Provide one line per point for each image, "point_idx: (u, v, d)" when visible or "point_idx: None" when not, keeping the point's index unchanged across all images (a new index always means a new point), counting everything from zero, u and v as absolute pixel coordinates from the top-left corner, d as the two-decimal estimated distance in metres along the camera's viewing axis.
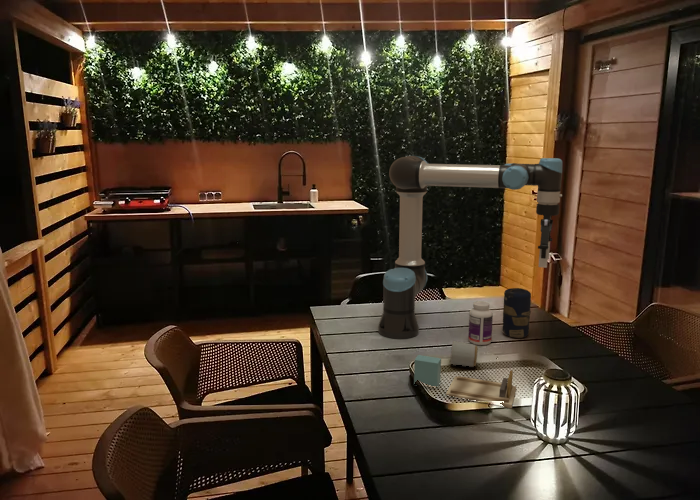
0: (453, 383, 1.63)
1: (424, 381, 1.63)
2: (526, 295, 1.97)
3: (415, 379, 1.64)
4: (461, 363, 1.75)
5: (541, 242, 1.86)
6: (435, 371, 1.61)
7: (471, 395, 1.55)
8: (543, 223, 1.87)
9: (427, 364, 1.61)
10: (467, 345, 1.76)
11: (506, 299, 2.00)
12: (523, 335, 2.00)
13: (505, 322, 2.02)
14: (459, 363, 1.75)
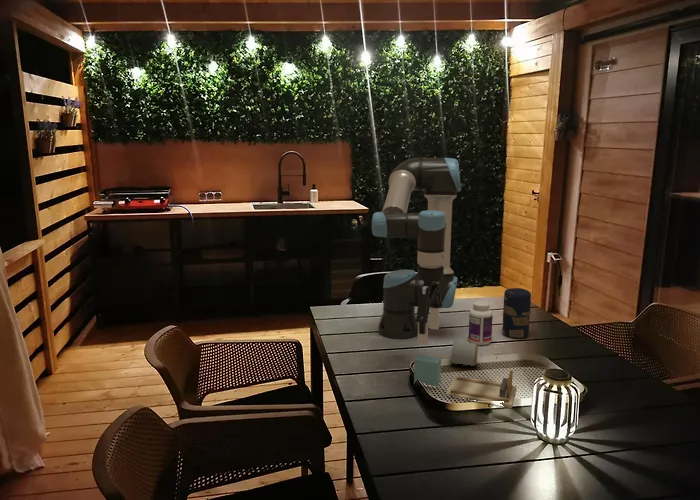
0: (453, 383, 1.63)
1: (424, 381, 1.63)
2: (526, 295, 1.97)
3: (415, 379, 1.64)
4: (461, 362, 1.76)
5: (417, 315, 1.51)
6: (435, 371, 1.61)
7: (471, 395, 1.55)
8: (421, 291, 1.53)
9: (427, 364, 1.61)
10: (467, 344, 1.77)
11: (506, 299, 2.00)
12: (523, 335, 2.00)
13: (505, 322, 2.02)
14: (459, 362, 1.76)
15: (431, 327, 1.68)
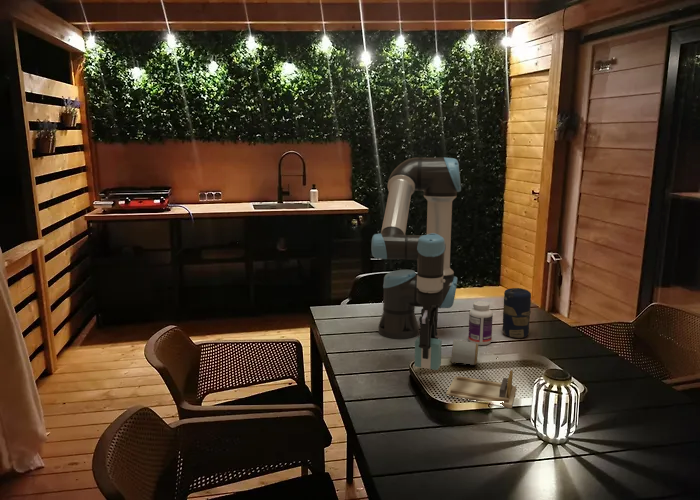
0: (453, 383, 1.63)
1: None
2: (526, 295, 1.97)
3: (416, 360, 1.63)
4: (462, 361, 1.76)
5: (420, 343, 1.57)
6: (436, 352, 1.60)
7: (471, 395, 1.55)
8: (421, 321, 1.55)
9: None
10: (468, 343, 1.77)
11: (506, 299, 2.00)
12: (523, 335, 2.00)
13: (505, 322, 2.02)
14: (460, 361, 1.77)
15: None
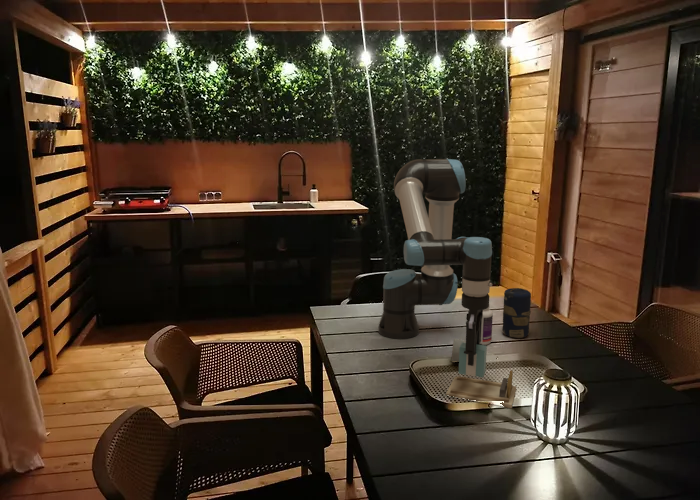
0: (453, 383, 1.63)
1: None
2: (526, 295, 1.97)
3: (460, 367, 1.58)
4: None
5: (466, 348, 1.52)
6: (482, 359, 1.55)
7: (471, 395, 1.55)
8: (467, 326, 1.50)
9: None
10: None
11: (506, 299, 2.00)
12: (523, 335, 2.00)
13: (505, 322, 2.02)
14: None
15: None
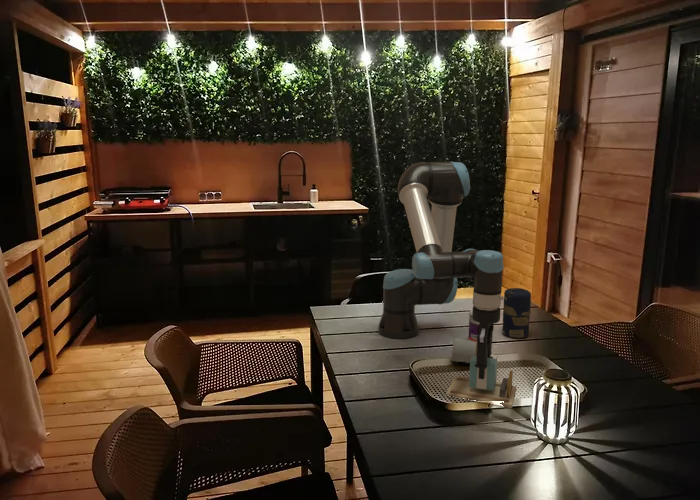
0: (453, 383, 1.63)
1: None
2: (526, 295, 1.97)
3: (470, 380, 1.57)
4: (462, 360, 1.77)
5: (477, 362, 1.52)
6: (493, 372, 1.54)
7: (471, 395, 1.55)
8: (478, 340, 1.50)
9: None
10: (468, 342, 1.78)
11: (506, 299, 2.00)
12: (523, 335, 2.00)
13: (505, 322, 2.02)
14: (460, 360, 1.78)
15: None
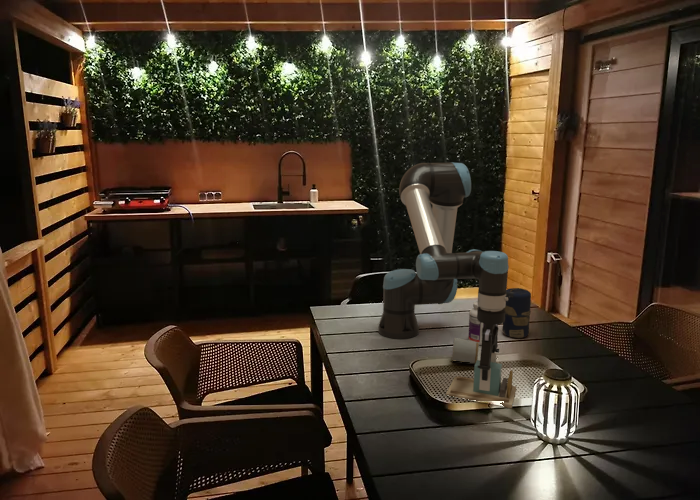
0: (453, 383, 1.63)
1: None
2: (526, 295, 1.97)
3: (475, 385, 1.57)
4: (462, 360, 1.78)
5: (481, 362, 1.48)
6: (497, 377, 1.54)
7: (471, 395, 1.55)
8: (483, 337, 1.49)
9: None
10: (468, 342, 1.78)
11: None
12: (523, 335, 2.00)
13: (505, 322, 2.02)
14: (460, 360, 1.78)
15: None
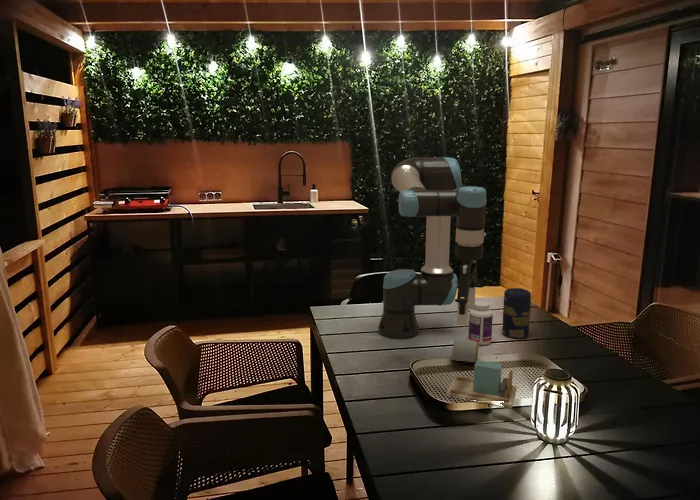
0: (453, 383, 1.63)
1: (484, 387, 1.56)
2: (526, 295, 1.97)
3: (475, 385, 1.57)
4: (463, 359, 1.78)
5: (458, 295, 1.46)
6: (497, 377, 1.54)
7: (471, 395, 1.55)
8: (461, 270, 1.47)
9: (488, 370, 1.55)
10: (468, 341, 1.79)
11: (506, 299, 2.00)
12: (523, 335, 2.00)
13: (505, 322, 2.02)
14: (461, 359, 1.78)
15: None
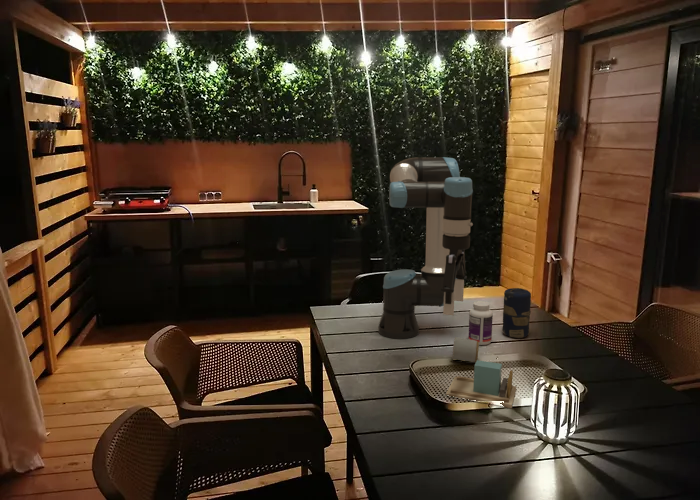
0: (453, 383, 1.63)
1: (484, 387, 1.56)
2: (526, 295, 1.97)
3: (475, 385, 1.57)
4: (463, 359, 1.78)
5: (444, 284, 1.47)
6: (497, 377, 1.54)
7: (471, 395, 1.55)
8: (447, 260, 1.48)
9: (488, 370, 1.55)
10: (469, 341, 1.79)
11: (506, 299, 2.00)
12: (523, 335, 2.00)
13: (505, 322, 2.02)
14: (461, 359, 1.79)
15: (455, 299, 1.63)
